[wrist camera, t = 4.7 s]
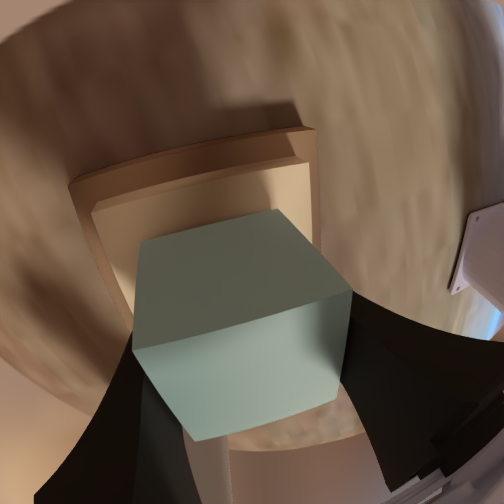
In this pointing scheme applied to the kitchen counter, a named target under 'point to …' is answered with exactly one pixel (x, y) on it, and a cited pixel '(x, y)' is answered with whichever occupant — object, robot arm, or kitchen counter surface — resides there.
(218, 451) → the salt shaker
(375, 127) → the kitchen counter surface
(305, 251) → the teal block
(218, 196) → the wooden base
